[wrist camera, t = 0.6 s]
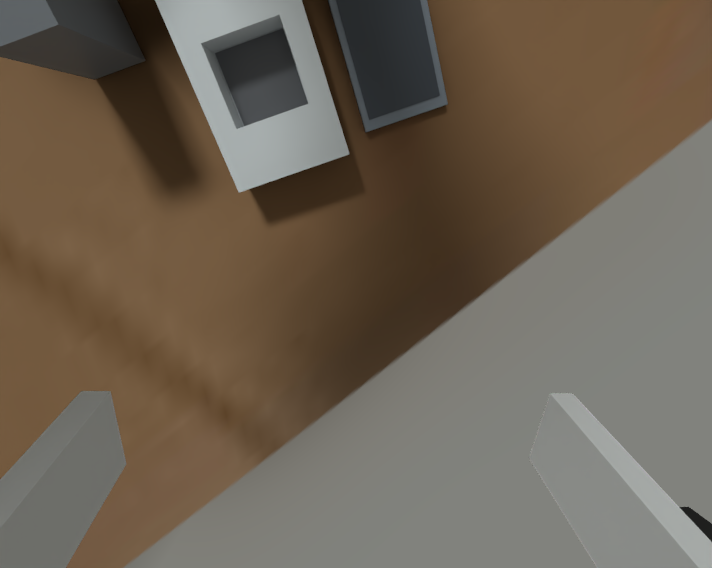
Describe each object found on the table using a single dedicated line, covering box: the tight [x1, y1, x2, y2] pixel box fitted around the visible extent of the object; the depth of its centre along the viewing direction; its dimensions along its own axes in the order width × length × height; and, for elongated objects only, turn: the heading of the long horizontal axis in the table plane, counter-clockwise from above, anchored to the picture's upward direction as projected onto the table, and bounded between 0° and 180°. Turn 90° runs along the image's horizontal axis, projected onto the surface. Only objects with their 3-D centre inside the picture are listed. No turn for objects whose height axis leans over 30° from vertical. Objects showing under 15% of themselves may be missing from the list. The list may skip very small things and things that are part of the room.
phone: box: [328, 0, 448, 132], centre depth 29 cm, size 7×14×1 cm, turn 18°
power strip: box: [155, 0, 349, 192], centre depth 26 cm, size 20×9×4 cm, turn 18°
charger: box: [0, 0, 146, 80], centre depth 23 cm, size 4×4×10 cm
